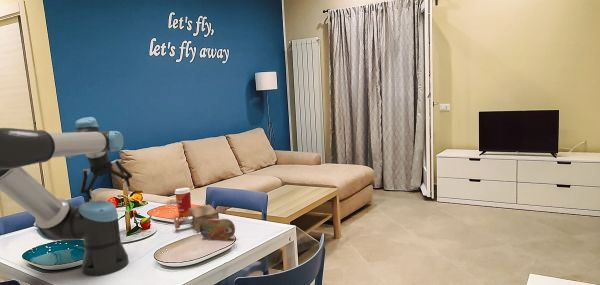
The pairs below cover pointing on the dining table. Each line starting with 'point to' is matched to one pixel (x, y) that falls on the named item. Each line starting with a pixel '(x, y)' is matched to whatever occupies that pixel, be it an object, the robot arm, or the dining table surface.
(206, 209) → the hitch block
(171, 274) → the dining table surface
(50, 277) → the dining table surface
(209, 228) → the mottled brown rounded block
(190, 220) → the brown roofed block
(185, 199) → the paper cup
